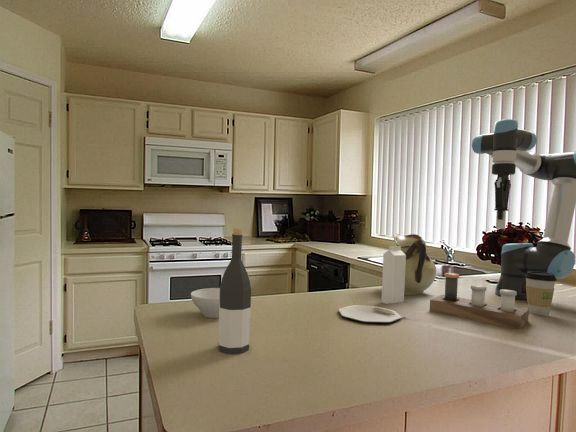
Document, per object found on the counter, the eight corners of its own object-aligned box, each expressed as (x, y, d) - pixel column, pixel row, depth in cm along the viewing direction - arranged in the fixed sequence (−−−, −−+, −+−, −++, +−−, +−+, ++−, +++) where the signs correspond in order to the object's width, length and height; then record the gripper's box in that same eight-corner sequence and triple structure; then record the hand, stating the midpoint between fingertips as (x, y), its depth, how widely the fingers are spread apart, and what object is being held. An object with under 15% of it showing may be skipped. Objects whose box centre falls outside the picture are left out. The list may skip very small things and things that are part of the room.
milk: (403, 304, 154) (407, 246, 153) (392, 306, 151) (395, 247, 150) (392, 300, 159) (395, 245, 159) (380, 302, 156) (383, 245, 156)
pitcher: (399, 284, 192) (402, 232, 191) (447, 294, 175) (450, 237, 174) (371, 291, 177) (373, 234, 176) (421, 302, 160) (424, 239, 159)
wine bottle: (244, 356, 97) (248, 230, 96) (212, 352, 98) (216, 228, 97) (253, 344, 105) (257, 228, 104) (223, 341, 106) (227, 227, 105)
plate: (409, 318, 137) (410, 313, 136) (380, 330, 122) (380, 325, 122) (359, 306, 150) (360, 302, 150) (327, 316, 135) (327, 311, 135)
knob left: (500, 315, 135) (501, 288, 134) (516, 318, 131) (518, 291, 131) (496, 318, 131) (498, 290, 131) (513, 321, 128) (514, 293, 127)
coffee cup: (559, 319, 140) (562, 276, 140) (528, 317, 142) (530, 274, 142) (547, 312, 150) (549, 272, 149) (518, 310, 152) (520, 270, 151)
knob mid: (472, 310, 140) (473, 284, 140) (486, 313, 137) (488, 286, 137) (467, 312, 137) (468, 286, 137) (482, 315, 134) (484, 288, 133)
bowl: (249, 312, 135) (250, 291, 135) (222, 324, 120) (222, 301, 120) (209, 306, 142) (210, 286, 141) (179, 316, 127) (180, 294, 127)
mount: (442, 307, 151) (442, 294, 151) (527, 324, 132) (528, 309, 132) (429, 313, 142) (430, 299, 142) (519, 332, 123) (520, 316, 123)
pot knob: (446, 297, 146) (447, 272, 146) (459, 299, 143) (461, 274, 143) (441, 299, 143) (442, 273, 142) (455, 301, 139) (456, 275, 139)
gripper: (497, 165, 154) (494, 227, 154) (487, 162, 144) (484, 228, 145) (519, 164, 149) (516, 229, 149) (511, 161, 139) (507, 229, 140)
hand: (500, 228), depth 147 cm, fingers closed
